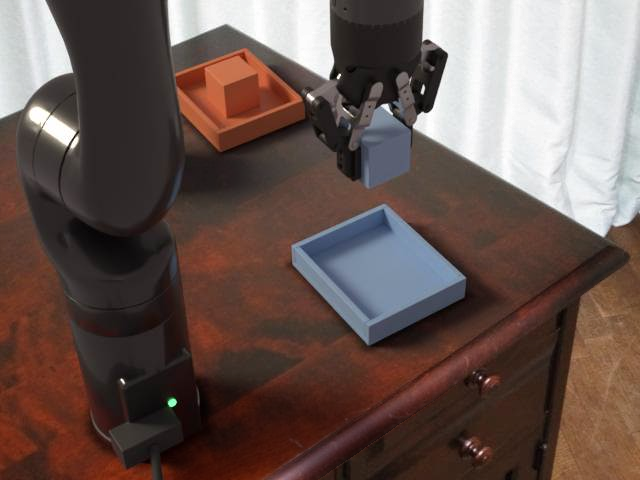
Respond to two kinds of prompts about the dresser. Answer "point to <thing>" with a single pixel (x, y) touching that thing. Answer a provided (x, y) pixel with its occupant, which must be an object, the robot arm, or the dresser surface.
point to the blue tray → (378, 273)
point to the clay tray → (226, 133)
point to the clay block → (232, 86)
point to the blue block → (384, 149)
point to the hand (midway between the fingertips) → (375, 164)
